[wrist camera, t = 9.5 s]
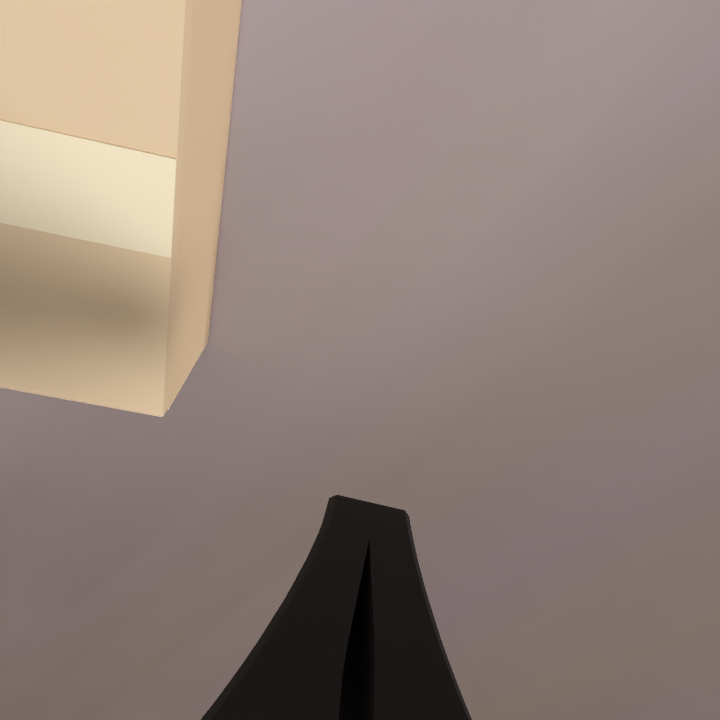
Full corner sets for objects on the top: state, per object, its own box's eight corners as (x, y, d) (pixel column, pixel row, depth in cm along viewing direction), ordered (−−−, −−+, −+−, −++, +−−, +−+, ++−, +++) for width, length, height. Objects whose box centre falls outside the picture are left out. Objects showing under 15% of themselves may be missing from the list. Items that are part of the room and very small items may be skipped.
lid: (167, 406, 18) (162, 418, 18) (-65, 363, 18) (-77, 375, 17) (198, -127, 11) (191, -130, 11) (-182, -230, 11) (-208, -238, 10)
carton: (208, 340, 22) (167, 411, 18) (8, 293, 21) (-71, 355, 18) (253, -120, 15) (200, -141, 11) (-46, -200, 14) (-193, -247, 11)
